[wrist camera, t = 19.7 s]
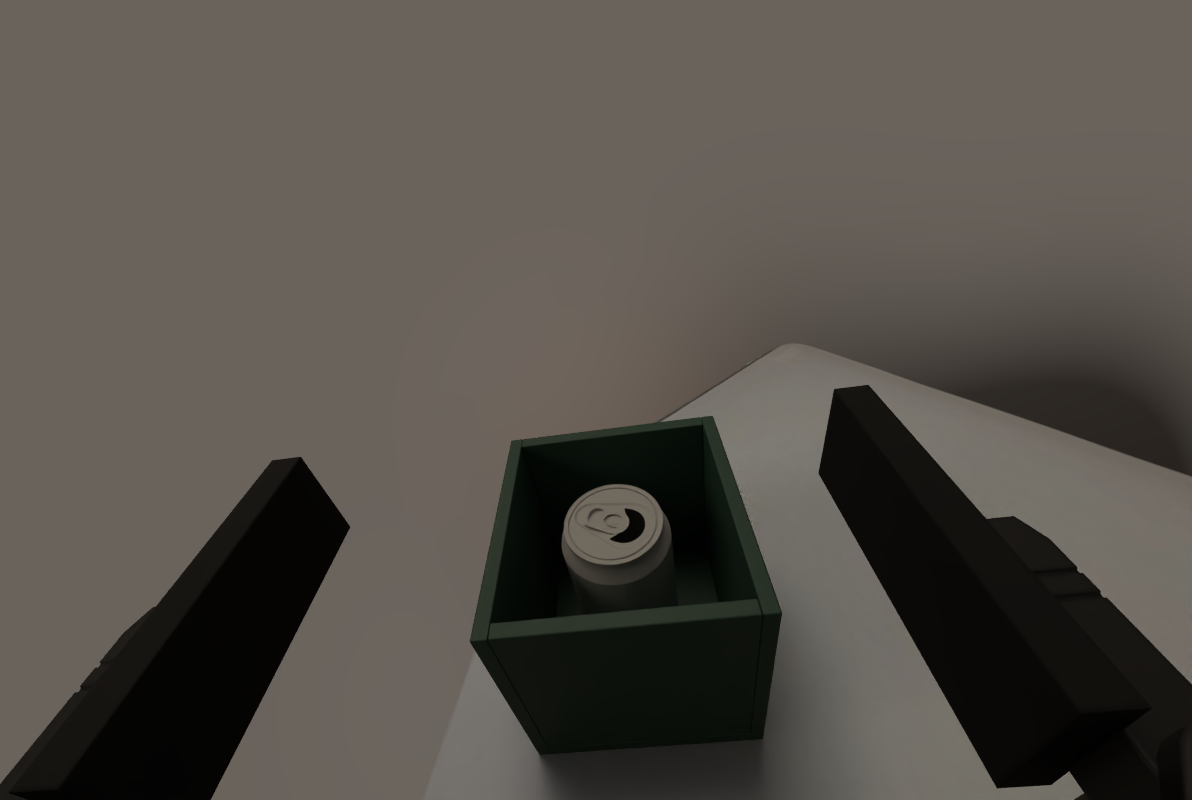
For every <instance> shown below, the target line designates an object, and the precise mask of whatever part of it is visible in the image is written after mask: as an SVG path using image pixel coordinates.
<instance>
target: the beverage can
mask: <svg viewBox="0 0 1192 800" xmlns="http://www.w3.org/2000/svg"><path fill="white" fill-rule="evenodd" d="M562 551H563V555H564V558H565V561H566V564H567V568H568V571H569V574H570V577H571V580H572V583H573V586H574V589H575V592H576V595H577V599H578V602H579V605H580V608H581V611H582V614H583V615H586V614H597V613H608V612H618V611H629V610H640V609H650V608H661V607H672V606H678V597H677V586H676V576H675V566H674V556H673V546H672V535H671V528H670V524H669V522H668V519H667V517H666V516H665V514H664V513H663V511H662V510H661V508H660V506H659V504H658V503H657V501H656V500H655V499H654V498H653V497H652V496H651V495H650V494H649V493H647V492H646V491H644V490H642V489H640V488H638V487H635V486H631V485H624V484H612V485H605V486H601V487H598V488H595V489H593V490H591V491H589V492H587V493H585V494H584V495H582V496H581V497H580V498H579V499H577V500H576V501H575V502H574V504H573V505H572V506H571V508H570V509H569V511H568V513H567V515H566V517H565V521H564V531H563V535H562Z"/></svg>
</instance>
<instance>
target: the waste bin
mask: <svg viewBox="0 0 1192 800" xmlns="http://www.w3.org/2000/svg"><path fill="white" fill-rule="evenodd" d="M612 484H624V485H631V486H635V487H638V488H640V489H642V490H644V491H646V492H647V493H649V494H650V495H651V496H652V497H653V498H654V499H655V500H656V501H657V503H658V504H659V506H660V508H661V510H662V511H663V513H664V514H665V516H666V517H667V519H668V522H669V524H670V528H671V535H672V546H673V556H674V566H675V576H676V586H677V597H678V606H672V607H661V608H650V609H640V610H629V611H618V612H608V613H597V614H586V615H583V614H582V611H581V608H580V605H579V602H578V599H577V595H576V592H575V589H574V586H573V583H572V580H571V577H570V574H569V571H568V568H567V564H566V561H565V558H564V555H563V551H562V535H563V531H564V521H565V517H566V515H567V513H568V511H569V509H570V508H571V506H572V505H573V504H574V502H575V501H576V500H577V499H579V498H580V497H581V496H582V495H584V494H585V493H587V492H589V491H591V490H593V489H595V488H598V487H601V486H605V485H612ZM781 616H782V611H781V609H780V606H779V603H778V600H777V597H776V594H775V591H774V589H773V586H772V583H771V580H770V577H769V574H768V572H767V569H766V566H765V563H764V560H763V557H762V555H761V552H760V549H759V546H758V543H757V540H756V537H755V535H754V532H753V529H752V526H751V523H750V520H749V518H748V515H747V512H746V509H745V506H744V503H743V501H742V498H741V495H740V492H739V489H738V486H737V483H736V481H735V478H734V475H733V472H732V469H731V466H730V464H729V461H728V458H727V455H726V452H725V449H724V446H723V444H722V441H721V438H720V435H719V432H718V429H717V427H716V424H715V421H714V418H713V416H707V417H701V418H700V417H699V418H691V419H683V420H675V421H667V422H659V423H651V424H644V425H636V426H628V427H619V428H612V429H603V430H596V431H587V432H579V433H571V434H563V435H555V436H547V437H539V438H532V439H524V440H515V441H511V446H510V451H509V455H508V460H507V465H506V470H505V475H504V479H503V484H502V489H501V494H500V499H499V503H498V508H497V513H496V518H495V523H494V528H493V532H492V537H491V542H490V547H489V552H488V556H487V561H486V566H485V571H484V576H483V580H482V585H481V590H480V595H479V600H478V604H477V609H476V614H475V619H474V624H473V628H472V634H471V638H470V642H471V644H472V646H473V648H474V649H475V651H476V653H477V654H478V656H479V657H480V659H481V661H482V662H483V664H484V666H485V667H486V669H487V670H488V672H489V674H490V675H491V677H492V679H493V680H494V682H495V683H496V685H497V687H498V688H499V690H500V692H501V693H502V695H503V696H504V698H505V700H506V701H507V703H508V704H509V706H510V708H511V709H512V711H513V713H514V714H515V716H516V717H517V719H518V721H519V722H520V724H521V726H522V727H523V729H524V730H525V732H526V734H527V735H528V737H529V739H530V740H531V742H532V743H533V745H534V747H535V748H536V750H537V751H538V753H539V754H540V755H541V754H556V753H570V752H584V751H599V750H613V749H627V748H642V747H656V746H670V745H684V744H699V743H713V742H727V741H742V740H756V739H763V734H764V728H765V721H766V715H767V708H768V702H769V695H770V688H771V682H772V675H773V669H774V662H775V655H776V649H777V642H778V636H779V629H780V623H781Z"/></svg>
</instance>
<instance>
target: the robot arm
mask: <svg viewBox="0 0 1192 800" xmlns="http://www.w3.org/2000/svg"><path fill="white" fill-rule="evenodd" d="M819 475H820V477H821V479H822V480H823V482H824V484H825V486H826V487H827V489H828V491H829V493H830V494H831V496H832V498H833V500H834V502H835V503H836V505H837V507H838V509H839V510H840V512H841V514H842V516H843V517H844V519H845V521H846V523H847V524H848V526H849V528H850V530H851V532H852V533H853V535H854V537H855V539H856V540H857V542H858V544H859V546H860V547H861V549H862V551H863V553H864V554H865V556H866V558H867V560H868V561H869V563H870V565H871V567H872V569H873V570H874V572H875V574H876V576H877V577H878V579H879V581H880V583H881V584H882V586H883V588H884V590H885V591H886V593H887V595H888V597H889V599H890V600H891V602H892V604H893V606H894V607H895V609H896V611H897V613H898V614H899V616H900V618H901V620H902V621H903V623H904V625H905V627H906V628H907V630H908V632H909V634H910V636H911V637H912V639H913V641H914V643H915V644H916V646H917V648H918V650H919V651H920V653H921V655H922V657H923V658H924V660H925V662H926V664H927V666H928V667H929V669H930V671H931V673H932V674H933V676H934V678H935V680H936V681H937V683H938V685H939V687H940V688H941V690H942V692H943V694H944V695H945V697H946V699H947V701H948V703H949V704H950V706H951V708H952V710H953V711H954V713H955V715H956V717H957V718H958V720H959V722H960V724H961V725H962V727H963V729H964V731H965V733H966V734H967V736H968V738H969V740H970V741H971V743H972V745H973V747H974V748H975V750H976V752H977V754H978V755H979V757H980V759H981V761H982V762H983V764H984V766H985V768H986V770H987V771H988V773H989V775H990V777H991V778H992V780H993V782H994V784H995V785H996V787H997V788H1009V787H1025V786H1040V785H1052V784H1053V783H1054V782H1056V781H1057V780H1058V779H1059V778H1061V777H1062V776H1063V775H1065V774H1066V773H1067V772H1069V771H1070V773H1071V774H1072V776H1073V777H1074V779H1075V780H1076V781H1077V783H1078V784H1079V786H1080V787H1081V789H1082V790H1083V792H1084V793H1083V794H1082V795H1080V796H1079V797H1077V798H1076V799H1074V800H1192V684H1191V683H1190V682H1189V681H1188V680H1187V679H1186V678H1185V677H1184V676H1183V675H1182V674H1181V673H1180V672H1179V671H1178V670H1177V669H1176V668H1175V667H1174V666H1173V665H1172V664H1171V663H1170V662H1169V661H1168V660H1167V659H1166V658H1165V657H1164V656H1163V655H1162V654H1161V653H1160V652H1159V651H1158V650H1157V648H1156V647H1155V646H1154V645H1153V644H1152V643H1151V642H1150V641H1149V640H1148V639H1147V638H1146V637H1145V636H1144V635H1143V634H1142V633H1141V632H1140V631H1139V630H1138V629H1137V628H1136V627H1135V626H1134V625H1133V624H1132V623H1131V622H1130V621H1129V620H1128V619H1127V618H1126V617H1125V616H1124V615H1123V614H1122V613H1121V612H1120V611H1119V610H1118V609H1117V608H1116V606H1115V605H1114V604H1113V603H1112V602H1111V601H1110V600H1109V599H1108V598H1104V597H1102V595H1101V593H1100V592H1101V591H1100V590H1099V589H1098V588H1097V587H1096V586H1095V585H1094V584H1093V583H1092V582H1091V581H1090V580H1089V579H1088V578H1087V577H1086V576H1085V575H1084V574H1083V573H1079V572H1078V571H1077V567H1076V566H1075V564H1074V563H1073V562H1072V561H1071V560H1070V559H1069V558H1068V557H1067V556H1066V555H1065V554H1064V553H1063V552H1062V551H1061V550H1060V549H1059V548H1058V547H1057V546H1056V545H1055V544H1054V543H1053V542H1052V541H1051V540H1050V539H1049V538H1047V537H1046V536H1044V535H1043V534H1041V533H1040V532H1038V531H1036V530H1035V529H1033V528H1032V527H1030V526H1029V525H1027V524H1025V523H1024V522H1022V521H1021V520H1019V519H1018V518H1016V517H1014V516H1011V517H1001V518H992V519H986V518H985V517H984V516H983V515H982V514H981V512H980V511H979V510H978V509H977V508H976V507H975V506H974V504H973V503H972V502H971V501H970V500H969V499H968V498H967V497H966V495H965V494H964V493H963V492H962V491H961V490H960V489H959V487H958V486H957V485H956V484H955V483H954V482H953V481H952V479H951V478H950V477H949V476H948V475H947V474H946V473H945V471H944V470H943V469H942V468H941V467H940V466H939V465H938V464H937V462H936V461H935V460H934V459H933V458H932V457H931V456H930V454H929V453H928V452H927V451H926V450H925V449H924V448H923V446H922V445H921V444H920V443H919V442H918V441H917V440H916V439H915V437H914V436H913V435H912V434H911V433H910V432H909V431H908V429H907V428H906V427H905V426H904V425H903V424H902V423H901V421H900V420H899V419H898V418H897V417H896V416H895V415H894V414H893V412H892V411H891V410H890V409H889V408H888V407H887V406H886V404H885V403H884V402H883V401H882V400H881V399H880V398H879V396H878V395H877V394H876V393H875V392H874V391H873V390H872V389H871V387H870V386H869V385H863V386H855V387H847V388H840V389H834V393H833V398H832V404H831V409H830V415H829V420H828V425H827V431H826V436H825V442H824V447H823V452H822V458H821V463H820V469H819ZM349 529H350V526H349V524H348V523H347V522H346V520H345V519H344V517H343V516H342V514H341V513H340V512H339V510H338V509H337V507H336V506H335V505H334V503H333V502H332V500H331V499H330V498H329V496H328V495H327V493H326V492H325V490H324V489H323V488H322V486H321V485H320V483H319V482H318V481H317V479H316V478H315V476H314V475H313V473H312V472H311V471H310V469H309V468H308V466H307V465H306V464H305V462H304V461H303V459H302V458H301V457H296V458H288V459H280V460H272V461H271V463H270V464H269V465H268V467H267V468H266V469H265V470H264V472H263V473H262V474H261V475H260V477H259V478H258V479H257V480H256V482H255V483H254V484H253V485H252V487H251V488H250V489H249V491H248V492H247V493H246V494H245V495H244V497H243V498H242V499H241V500H240V502H239V503H238V504H237V505H236V507H235V508H234V509H233V511H232V512H231V513H230V514H229V516H228V517H227V518H226V519H225V521H224V522H223V523H222V524H221V526H220V527H219V528H218V529H217V531H216V532H215V533H214V534H213V536H212V537H211V538H210V539H209V541H208V542H207V543H206V544H205V546H204V547H203V548H202V549H201V551H200V552H199V553H198V554H197V556H196V557H195V558H194V559H193V561H192V562H191V563H190V565H189V566H188V567H187V568H186V570H185V571H184V572H183V573H182V575H181V576H180V577H179V578H178V580H177V581H176V582H175V583H174V585H173V586H172V587H171V589H170V590H169V591H168V592H167V594H166V595H165V596H164V597H163V598H162V600H161V601H160V602H159V604H158V605H157V606H156V607H153V608H152V609H150V610H149V611H148V612H147V613H146V614H145V615H144V616H142V617H141V618H140V619H139V620H138V621H137V622H136V623H134V624H133V625H132V626H131V627H130V628H129V629H128V630H126V631H125V632H124V633H123V634H122V636H121V637H120V638H119V639H118V641H117V642H116V643H115V644H114V645H113V647H112V648H111V649H110V650H109V651H108V653H107V654H106V655H105V656H104V658H103V659H102V660H101V661H100V663H101V664H100V666H99V667H98V668H95V669H94V670H93V671H92V672H91V674H90V675H89V676H88V677H87V678H86V680H85V681H84V682H83V683H82V685H81V686H80V687H81V689H80V691H79V692H77V693H74V694H73V696H72V697H71V698H70V699H69V700H68V702H67V703H66V704H65V705H64V707H63V708H62V709H61V710H60V712H59V713H58V714H57V715H56V716H55V718H54V719H53V720H52V721H51V723H50V724H49V725H48V726H47V727H46V729H45V730H44V731H43V732H42V734H41V735H40V736H39V737H38V738H37V740H36V741H35V742H34V743H33V745H32V746H31V747H30V748H29V750H28V751H27V752H26V753H25V754H24V756H23V757H22V758H21V759H20V761H19V762H18V763H17V764H16V766H15V767H14V768H13V769H12V770H11V772H10V773H9V774H8V775H7V777H6V778H5V779H4V780H3V781H2V783H1V784H0V800H211V798H212V796H213V794H214V792H215V790H216V788H217V786H218V784H219V782H220V780H221V778H222V776H223V775H224V772H225V771H226V769H227V767H228V765H229V763H230V761H231V759H232V757H233V755H234V753H235V751H236V749H237V747H238V745H239V743H240V741H241V739H242V737H243V735H244V734H245V732H246V729H247V728H248V726H249V724H250V722H251V720H252V718H253V716H254V714H255V712H256V710H257V708H258V706H259V704H260V702H261V700H262V698H263V696H264V694H265V693H266V691H267V689H268V687H269V685H270V683H271V681H272V679H273V677H274V675H275V673H276V671H277V669H278V667H279V665H280V663H281V661H282V659H283V657H284V655H285V653H286V652H287V650H288V648H289V645H290V643H291V642H292V640H293V638H294V636H295V634H296V632H297V630H298V628H299V626H300V624H301V622H302V620H303V618H304V616H305V614H306V612H307V610H308V609H309V607H310V605H311V603H312V601H313V599H314V597H315V595H316V593H317V591H318V589H319V587H320V585H321V583H322V581H323V579H324V577H325V575H326V573H327V571H328V569H329V568H330V566H331V564H332V562H333V560H334V558H335V556H336V554H337V552H338V550H339V548H340V546H341V544H342V542H343V540H344V538H345V536H346V534H347V532H348V530H349Z"/></svg>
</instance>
